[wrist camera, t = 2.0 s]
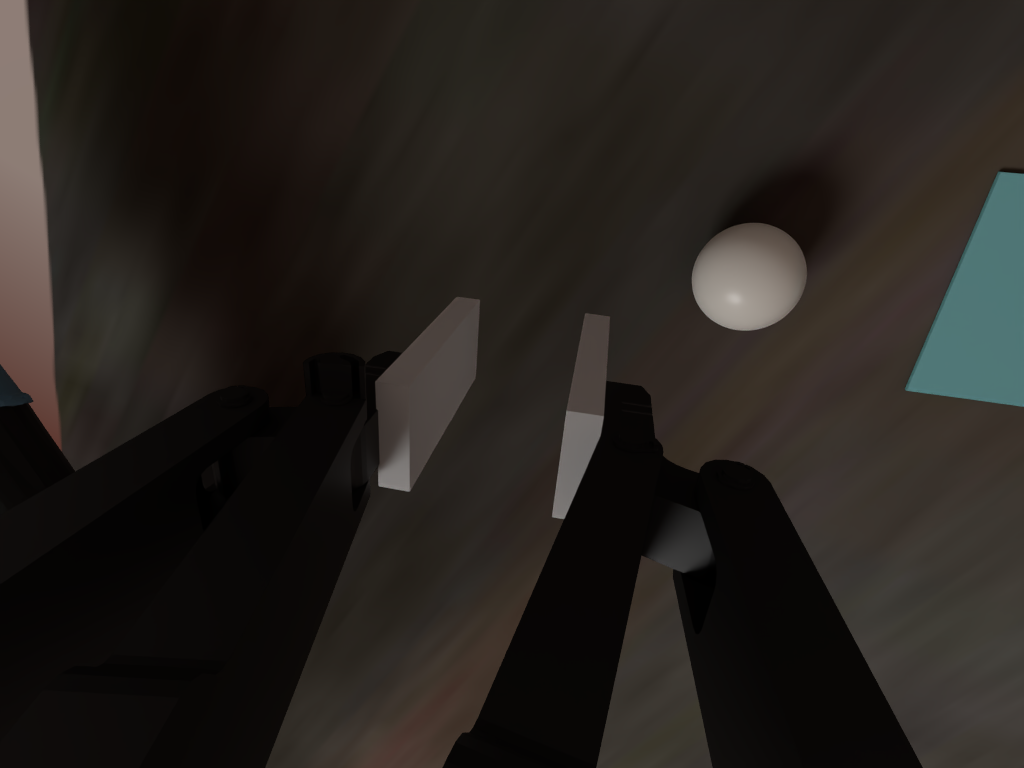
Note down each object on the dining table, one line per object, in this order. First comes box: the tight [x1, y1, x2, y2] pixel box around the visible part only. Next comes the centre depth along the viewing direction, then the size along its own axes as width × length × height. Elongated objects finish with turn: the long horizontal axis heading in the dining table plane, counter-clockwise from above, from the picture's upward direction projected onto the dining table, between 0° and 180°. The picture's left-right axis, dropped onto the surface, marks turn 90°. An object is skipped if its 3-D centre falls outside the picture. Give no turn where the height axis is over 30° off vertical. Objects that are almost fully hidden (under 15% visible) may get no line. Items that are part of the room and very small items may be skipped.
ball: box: [692, 223, 807, 331], centre depth 29 cm, size 6×6×6 cm
